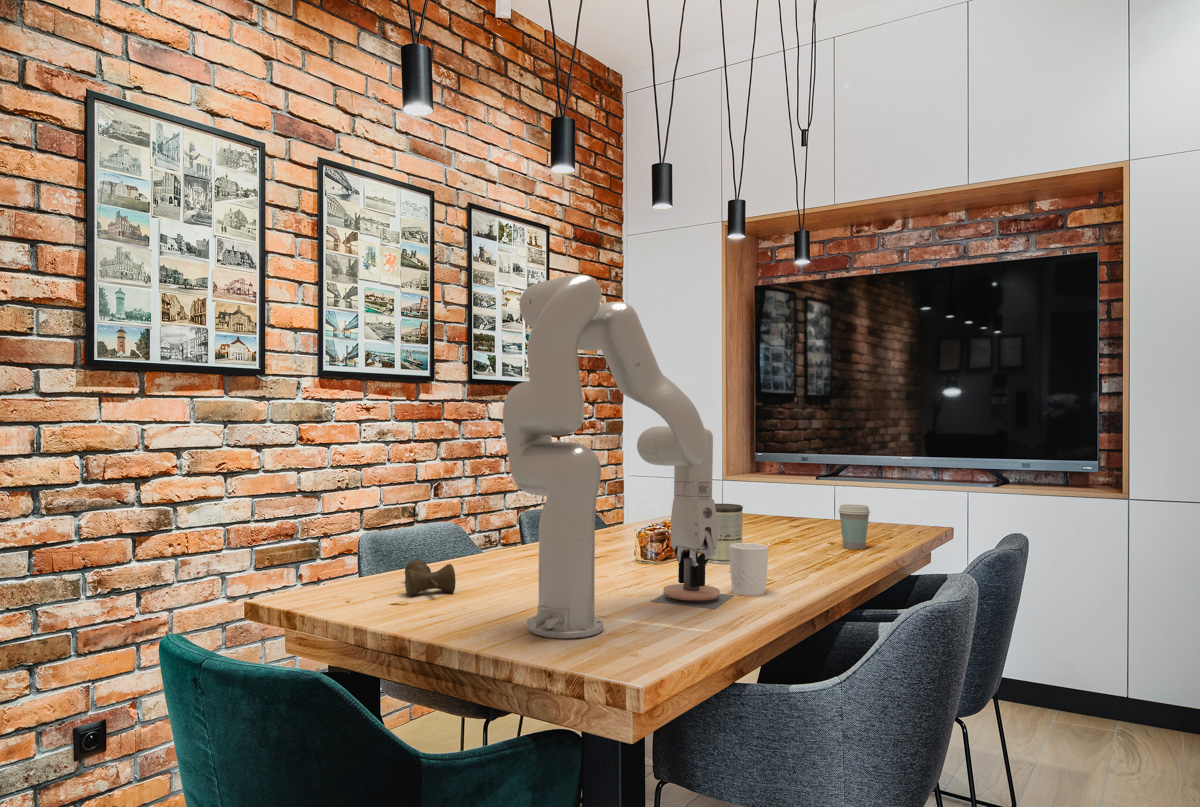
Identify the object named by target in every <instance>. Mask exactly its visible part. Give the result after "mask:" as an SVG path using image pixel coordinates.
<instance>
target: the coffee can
mask: <svg viewBox="0 0 1200 807" xmlns="http://www.w3.org/2000/svg"><path fill="white" fill-rule="evenodd" d="M715 508H716V516H717V533H718V543H717V548H716V549H715V555H714V556H712V557H711V558H710V559H709V560H708V561H707V564H708V563H709V564H716V565H730V552H729V545H730V544H735V543H743V508H744V506H743V505H741V504H735V503H715Z"/></svg>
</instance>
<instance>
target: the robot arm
mask: <svg viewBox="0 0 1200 807" xmlns="http://www.w3.org/2000/svg"><path fill="white" fill-rule="evenodd" d="M518 305H519V312H520V315H521V317H522V319H523V321H524V322H525V323H526V324H527V326H529V327H531V331H530V333H529V338H528V341H527V348H526V349H527V350H526V353H527V354H526V356H527V366H528V369H527V371H528V381H524V382H520V383H517V384H516V385H514V386H513V387H512V388H511V389H510V390H509V392H508V393H507V395H506V396H505V399H504V403H503V407H502V422H503V429H504V436H505V443H506V449H507V457H508V464H509V469H510V473H511V477H512V479H513V481H514V483H515V485H516V486H517V487H518V488H519V490H521V491H522V492H524V493H527V494H529V495H534V496H541V497H546V500H545V503H544V505H543V507H542V510H541V513H540V518H539V521H538V522H539V523H538V605H537V613H536V615H533V616H531V617H529V618H528V619H527V620H526V626H527V628H528V629H529V632H531V633H532V634H534V635H536V636H541V637H544V638H550V639H551V638H552V639H580V638H587V637H591V636H594V635H597V634H599V633H601V632H602V631H604V621H603V620H602V619H601V618H599V617H597V616H595V602H596V599H595V597H596V596H595V588H596V587H595V583H596V582H595V580H596V578H595V576H596V574H595V573H596V571H595V570H596V569H595V567H596V566H595V563H596V560H595V559H596V556H595V555H596V553H595V552H596V543H595V542H596V536H595V535H596V534H595V533H596V531H595V530H596V527H595V526H596V507H597V500H598V496H599V489H600V485H601V484H600V483H601V478H602V467H601V462H600V459H599V458H598V456H597V454H596V453H595V452H594V450H592V449H591V448H590V447H588V446H586V445H584V444H581V443H577V442H569V441H568V442H567V441H565V442H564V441H563V442H562V441H552V440H553V439H552V436H566V435H571V434H572V433H575V432H577V431H578V430H579V429H580V428H581V426H582V425H583V423H584V419H585V404H584V396H583V389H582V382H581V373H580V368H579V358H578V357H579V355H578V354H579V352H578V351H579V350H581V351H588V352H589V351H596V350H597V351H598V350H599V351H600V350H601V352H602V354H603V357H604V359H605V361H606V363H607V365H608V367H609V370H610V373H611V374H612V378H613V380H614V383H615V385H616V388H617V389H618V390H619V392H620V393H621V394H623V395H624V396H626V397H627V398H629V399H631V400H633V401H635V402H637V403H639V404H641V405H643V406H646V407H647V408H649V409H651V410H652V411H654V412H655V413H657V414H658V415H659V416H660V418H662V419H663V420H664V421H665V423H666V424H667V426H666V425H665V426H662V425H661V426H659V425H658V426H651V427H649V428H647V429H645V430H643V432H641V433H640V435H639V436H638V438H637V442H636V449H637V452H638V454H639V457H640V458H641V459H642V460H643V461H645V462H646V463H648V464H651V465H654V466H667V467H668V466H669V467H672V466H673V467H674V469H673V470H674V471H673V472H674V473H673V475H674V477H673V478H674V479H673V500H672V506H671V516H670V547H671V548H672V549H673V550H674V552H675V554H676V561H677V563H678V574H677V575H678V584H683V582H684V558H687V557H692V562H693V566H691V567H690V586H691V587H699V586H704V585H706V566H708V562H707V561H708V560H709V559H710V558H711V557H712V556H714V555H715V549H716V548H717V543H718V533H717V516H716V508H715V504H716V503H715V499H714V498H713V468H714V467H713V464H714V463H713V460H714V459H713V457H714V454H713V453H714V452H713V450H714V436H713V433H712V431H711V430H710V429H708V428H705V426H704V423H703V420H702V418H701V416H700V413H699V412H698V409H697V407H696V406H695V404H694V403H693V401H692V400H691V399H690V398H689V397H688V395H686V393H684V392H683V391H682V390H681V389H680V388H679V387H678V385H676V384H675V383H674V382H672V380H670V379H669V378H668V377H667V376H665V375H664V373H662V370H661V369H660V367H659V364H658V362H657V359H656V356H655V354H654V353H653V350H652V347H651V345H650V343H649V340H648V337H647V335H646V332H645V331H644V328H643V325H642V322H641V320H640V318H639V316H638V314H637V311H636V310H635V309H634V307H633V306H632V305H631V304H628V303H627V302H624V301H609V302H602V288H601V286H600V284H599V282H598V281H597V280H596V278H594V277H592V276H590V275H586V274H571V275H565V276H561V277H557V278H553V279H548V280H543V281H539V282H537V283H534V284H531V285H529V286H528V287H527V288H526V289H525V290H524V291H523V292H522V293H521V296H520V299H519V304H518Z"/></svg>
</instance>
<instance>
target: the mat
mask: <svg viewBox="0 0 1200 807" xmlns="http://www.w3.org/2000/svg"><path fill="white" fill-rule="evenodd" d="M733 597H736V595H735V594H727V593H720V597H719V598H716V599H712V600H681V599H675V598H670V597H667V596H665V595H664V594H663V593H662V595H659V596H658V597H656V598H654V599H652V600H650V601H649V602H651V603H657V604H666V605H667V604H668V605H676V606H685V607H693V608H703V609H710V610H711V609H712V610H716V609H718V608H719V607H721V606H722V605H723V604H725V603H726V602H728V601H729V600H730V599H732V598H733Z"/></svg>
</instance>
